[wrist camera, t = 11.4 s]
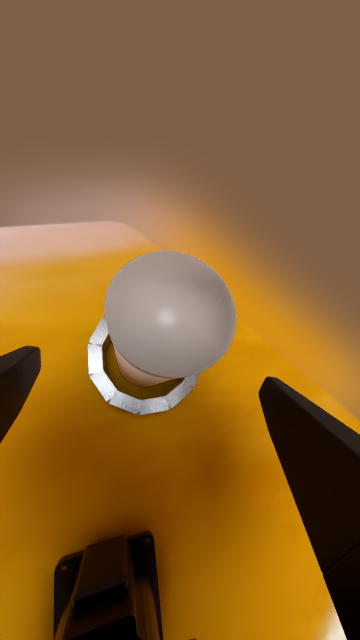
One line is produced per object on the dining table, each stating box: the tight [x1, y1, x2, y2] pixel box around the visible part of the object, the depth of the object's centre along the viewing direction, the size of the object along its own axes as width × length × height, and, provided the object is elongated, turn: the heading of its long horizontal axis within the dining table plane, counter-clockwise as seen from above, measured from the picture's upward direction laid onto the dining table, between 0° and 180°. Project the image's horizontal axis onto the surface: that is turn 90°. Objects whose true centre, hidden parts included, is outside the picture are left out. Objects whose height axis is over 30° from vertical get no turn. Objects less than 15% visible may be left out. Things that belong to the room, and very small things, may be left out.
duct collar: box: [88, 316, 199, 415], centre depth 19 cm, size 9×9×3 cm
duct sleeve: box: [105, 251, 237, 387], centre depth 15 cm, size 5×5×13 cm
